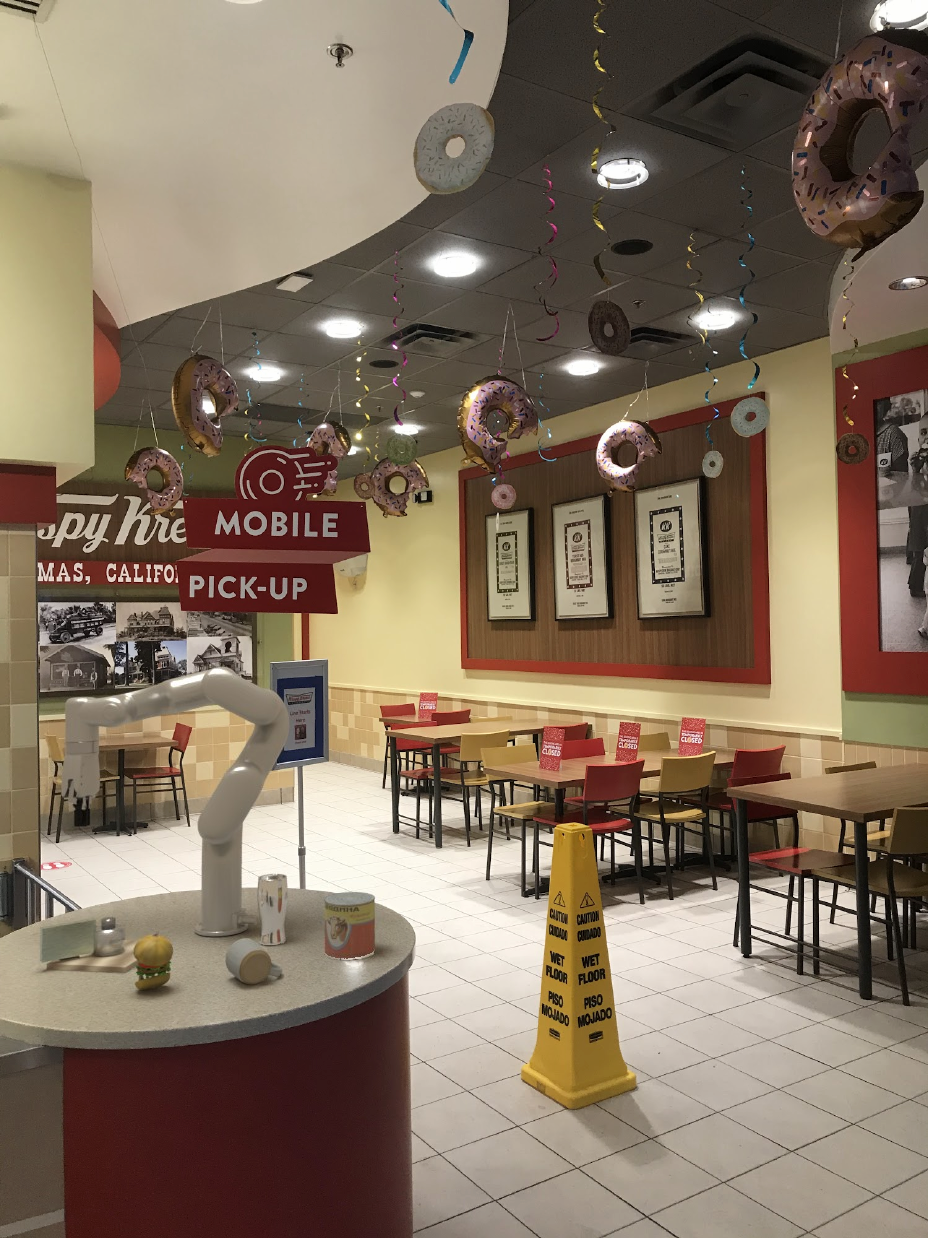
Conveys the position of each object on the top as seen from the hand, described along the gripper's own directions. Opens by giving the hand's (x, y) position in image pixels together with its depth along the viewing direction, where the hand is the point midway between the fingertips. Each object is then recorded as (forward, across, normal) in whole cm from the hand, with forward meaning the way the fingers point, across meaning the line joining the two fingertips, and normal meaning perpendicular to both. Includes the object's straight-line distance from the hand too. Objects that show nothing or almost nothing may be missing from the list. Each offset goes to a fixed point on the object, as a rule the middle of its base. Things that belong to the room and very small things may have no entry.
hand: (82, 825), depth 227 cm
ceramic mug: (+27, +24, +51) cm, 63 cm away
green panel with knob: (+25, +18, +11) cm, 33 cm away
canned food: (+27, +6, +67) cm, 72 cm away
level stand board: (+26, +15, +14) cm, 33 cm away
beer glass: (+27, 0, +47) cm, 54 cm away
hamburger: (+27, +33, +34) cm, 54 cm away
